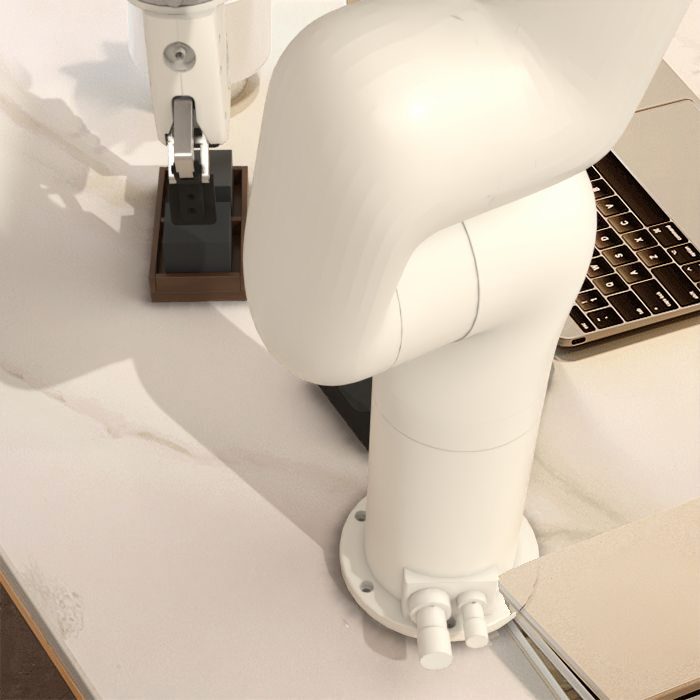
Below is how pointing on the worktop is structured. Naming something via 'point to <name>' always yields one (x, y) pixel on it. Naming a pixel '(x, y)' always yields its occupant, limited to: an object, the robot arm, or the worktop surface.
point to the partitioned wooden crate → (231, 284)
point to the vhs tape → (353, 406)
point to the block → (199, 244)
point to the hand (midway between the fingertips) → (197, 182)
